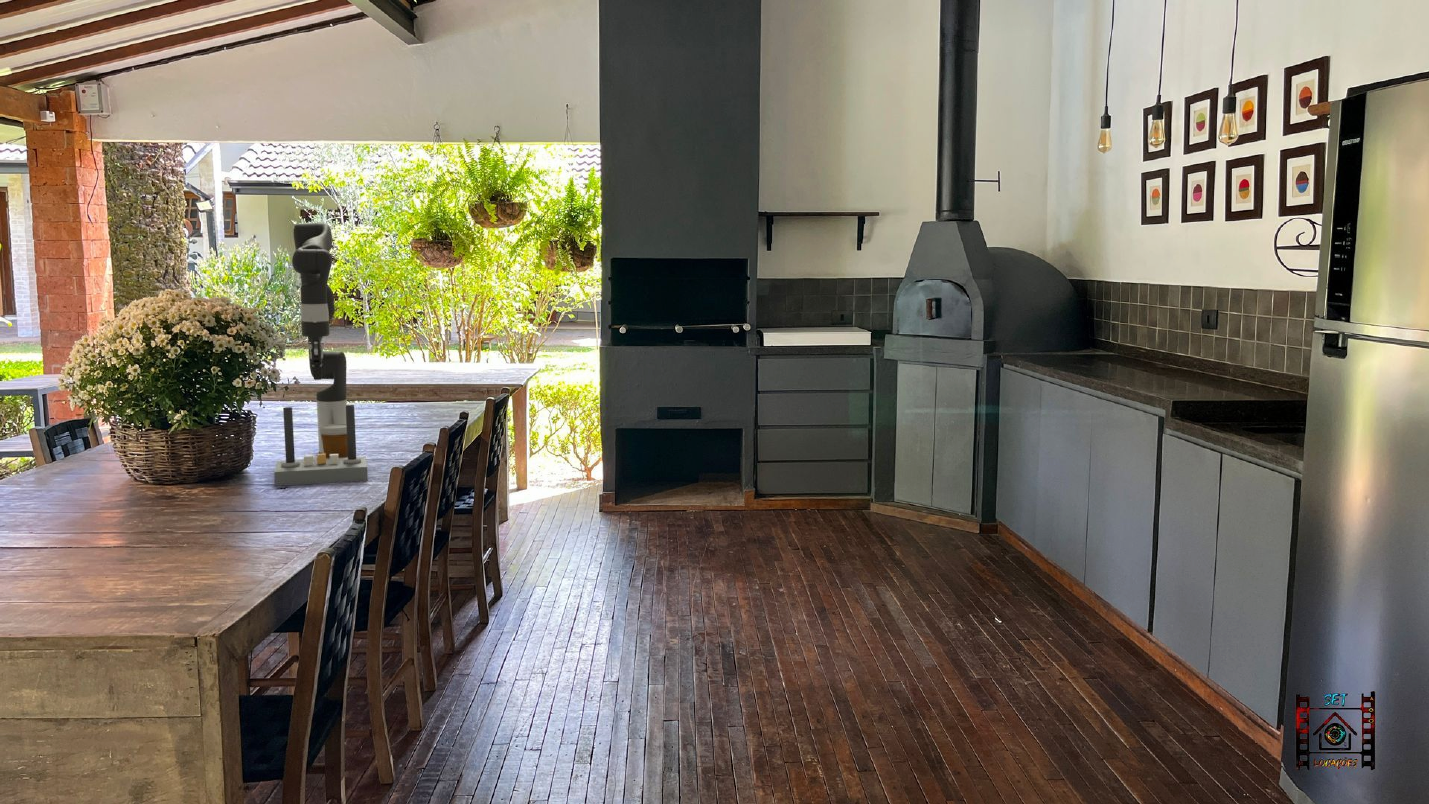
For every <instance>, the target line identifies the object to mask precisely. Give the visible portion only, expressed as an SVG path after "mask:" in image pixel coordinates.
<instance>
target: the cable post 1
mask: <svg viewBox="0 0 1429 804" xmlns="http://www.w3.org/2000/svg"><path fill="white" fill-rule="evenodd" d="M282 410H283V411H282V413H283V414H282V415H283V428H284V448H285V460H283V461H284V462H281V467H297V466H300V461H295V460H296V458H295V441H294V440H295V438H294V437H295V436H294V419H293V418H294V415H293V407H292V406H291V407H289V406H287V407H286V406H285V407H283V408H282Z"/></svg>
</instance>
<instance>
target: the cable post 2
mask: <svg viewBox="0 0 1429 804" xmlns="http://www.w3.org/2000/svg"><path fill="white" fill-rule="evenodd" d="M355 412H356V411H355V405H354V404H347V405H346V427H347V450H348V458H345V459H343V463H345V464H357V463H360V462H361V458H359V457H360V456H357V439H356V438H357V437H356V418H355V414H356V413H355Z"/></svg>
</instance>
